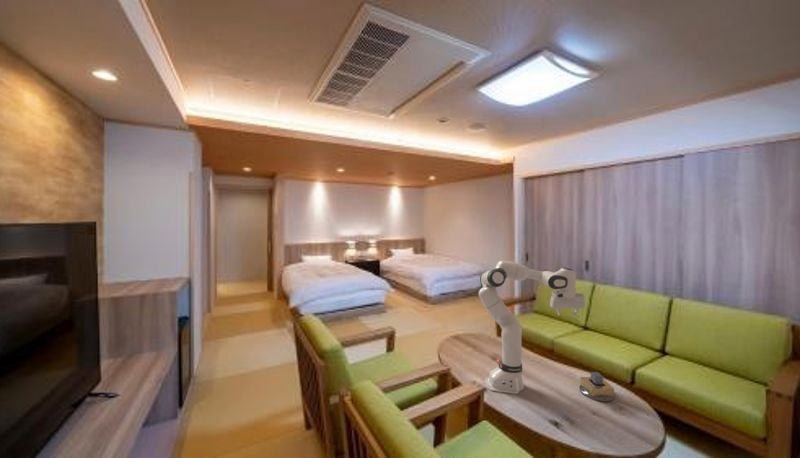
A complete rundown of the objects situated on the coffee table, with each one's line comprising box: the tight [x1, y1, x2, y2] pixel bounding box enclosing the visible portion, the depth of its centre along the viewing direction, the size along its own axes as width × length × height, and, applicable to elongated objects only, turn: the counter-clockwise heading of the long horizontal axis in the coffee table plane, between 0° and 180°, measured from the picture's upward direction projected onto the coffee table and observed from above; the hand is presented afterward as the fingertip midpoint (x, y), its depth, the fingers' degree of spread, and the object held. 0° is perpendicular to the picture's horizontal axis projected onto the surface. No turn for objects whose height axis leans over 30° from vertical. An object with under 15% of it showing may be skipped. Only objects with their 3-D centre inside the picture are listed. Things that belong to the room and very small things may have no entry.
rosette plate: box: [579, 376, 616, 403], centre depth 179 cm, size 17×17×6 cm
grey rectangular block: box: [590, 371, 604, 386], centre depth 179 cm, size 4×5×10 cm
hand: (567, 315), depth 197 cm, fingers open, 8 cm apart
